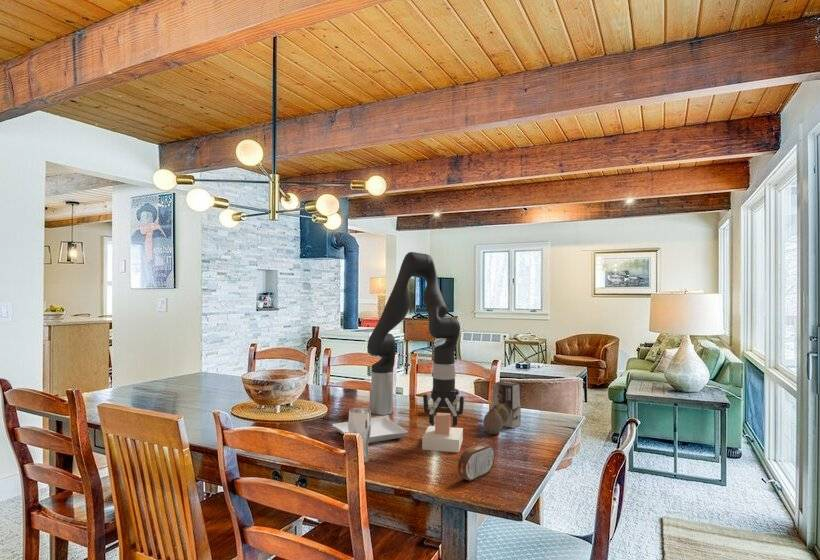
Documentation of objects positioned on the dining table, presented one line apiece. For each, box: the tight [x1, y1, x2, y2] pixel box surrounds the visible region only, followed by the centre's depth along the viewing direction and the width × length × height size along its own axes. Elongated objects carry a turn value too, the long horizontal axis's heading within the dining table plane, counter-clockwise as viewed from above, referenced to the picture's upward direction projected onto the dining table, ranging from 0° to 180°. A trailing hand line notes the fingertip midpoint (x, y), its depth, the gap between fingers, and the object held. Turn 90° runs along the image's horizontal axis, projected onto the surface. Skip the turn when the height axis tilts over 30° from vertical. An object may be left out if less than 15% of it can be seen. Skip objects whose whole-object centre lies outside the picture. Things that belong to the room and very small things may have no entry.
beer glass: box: [347, 407, 372, 463], centre depth 150 cm, size 7×7×15 cm
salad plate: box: [332, 416, 408, 444], centre depth 175 cm, size 21×21×3 cm
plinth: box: [421, 425, 464, 453], centre depth 166 cm, size 12×14×4 cm
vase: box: [482, 407, 503, 435], centre depth 180 cm, size 7×7×9 cm
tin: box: [457, 442, 496, 482], centre depth 138 cm, size 15×3×8 cm, turn 137°
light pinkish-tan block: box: [434, 413, 451, 435], centre depth 166 cm, size 4×4×6 cm
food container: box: [430, 388, 461, 415], centre depth 211 cm, size 12×6×10 cm, turn 84°
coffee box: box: [492, 380, 522, 429], centre depth 192 cm, size 9×6×16 cm
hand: (443, 425), depth 166 cm, fingers open, 6 cm apart
